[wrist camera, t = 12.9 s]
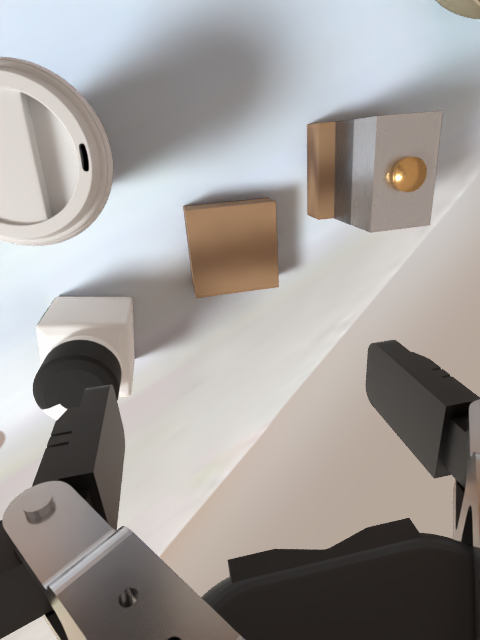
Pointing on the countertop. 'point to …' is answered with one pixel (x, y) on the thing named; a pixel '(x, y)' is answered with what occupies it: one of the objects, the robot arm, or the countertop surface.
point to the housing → (386, 170)
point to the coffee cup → (48, 157)
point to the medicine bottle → (83, 350)
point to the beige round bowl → (462, 7)
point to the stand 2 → (321, 170)
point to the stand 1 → (232, 246)
